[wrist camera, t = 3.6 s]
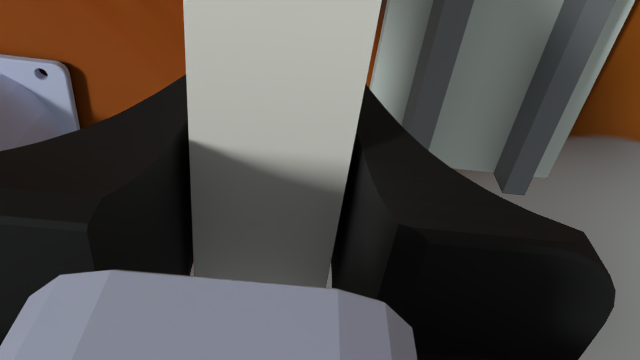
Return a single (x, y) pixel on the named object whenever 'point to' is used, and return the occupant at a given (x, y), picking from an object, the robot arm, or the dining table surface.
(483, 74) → the track
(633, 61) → the dining table surface
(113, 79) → the dining table surface
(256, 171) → the door panel
